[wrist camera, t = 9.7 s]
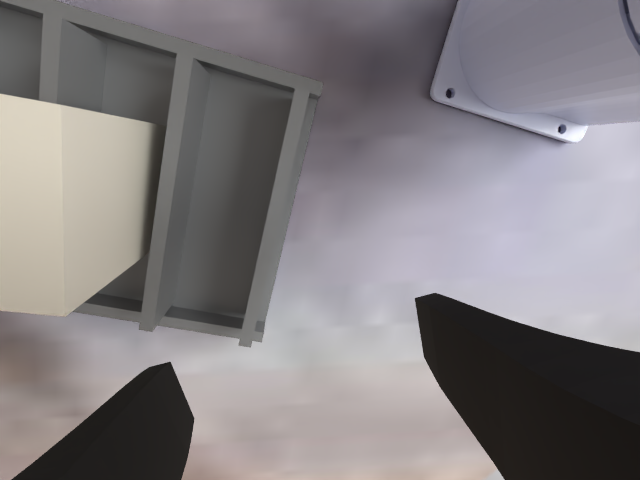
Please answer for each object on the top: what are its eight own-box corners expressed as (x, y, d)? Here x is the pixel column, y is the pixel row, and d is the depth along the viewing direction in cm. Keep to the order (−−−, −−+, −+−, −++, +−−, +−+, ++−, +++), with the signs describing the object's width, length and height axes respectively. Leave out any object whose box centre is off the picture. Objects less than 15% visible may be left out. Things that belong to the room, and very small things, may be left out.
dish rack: (319, 88, 17) (330, 70, 13) (263, 325, 20) (258, 366, 16) (-23, -16, 14) (-134, -76, 11) (-25, 276, 18) (-110, 311, 14)
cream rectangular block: (167, 126, 16) (61, 104, 8) (160, 243, 17) (64, 317, 10) (112, 116, 16) (-53, 83, 8) (110, 236, 17) (-31, 308, 9)
